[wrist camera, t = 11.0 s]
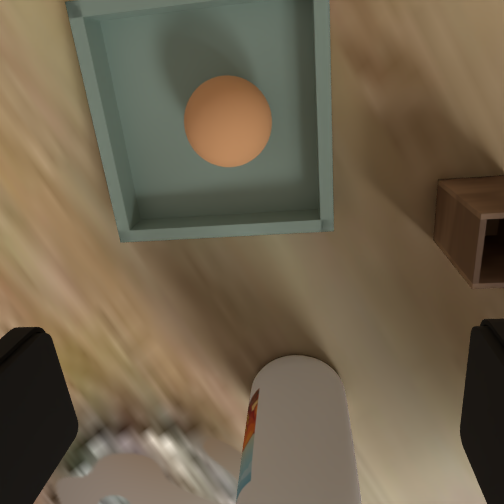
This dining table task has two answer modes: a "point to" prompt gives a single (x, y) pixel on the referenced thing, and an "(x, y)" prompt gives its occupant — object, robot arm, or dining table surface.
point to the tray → (174, 104)
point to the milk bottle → (298, 437)
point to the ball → (227, 121)
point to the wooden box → (472, 228)
